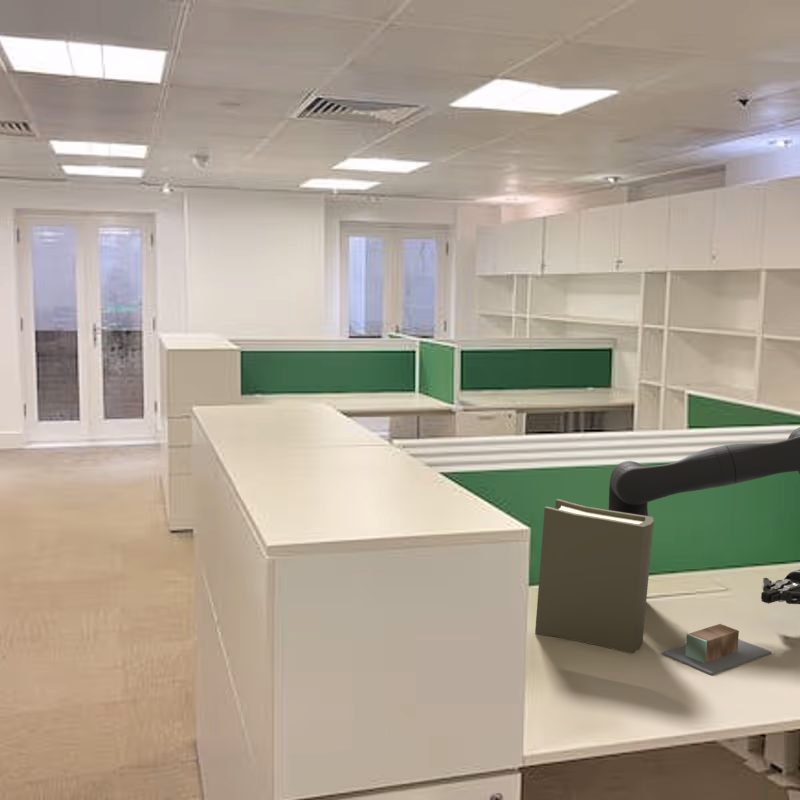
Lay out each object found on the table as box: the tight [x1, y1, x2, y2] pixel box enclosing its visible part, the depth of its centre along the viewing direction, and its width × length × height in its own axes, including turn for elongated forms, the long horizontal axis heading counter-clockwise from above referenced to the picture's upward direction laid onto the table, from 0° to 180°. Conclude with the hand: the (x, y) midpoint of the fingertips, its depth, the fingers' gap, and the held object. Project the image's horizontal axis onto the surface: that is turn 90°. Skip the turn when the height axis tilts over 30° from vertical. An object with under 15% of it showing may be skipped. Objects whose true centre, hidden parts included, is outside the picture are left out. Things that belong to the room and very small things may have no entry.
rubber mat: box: [661, 638, 772, 676], centre depth 187 cm, size 20×12×1 cm, turn 125°
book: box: [534, 498, 655, 654], centre depth 193 cm, size 22×9×28 cm, turn 63°
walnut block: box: [685, 623, 740, 663], centre depth 186 cm, size 4×4×11 cm
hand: (764, 598), depth 195 cm, fingers closed
